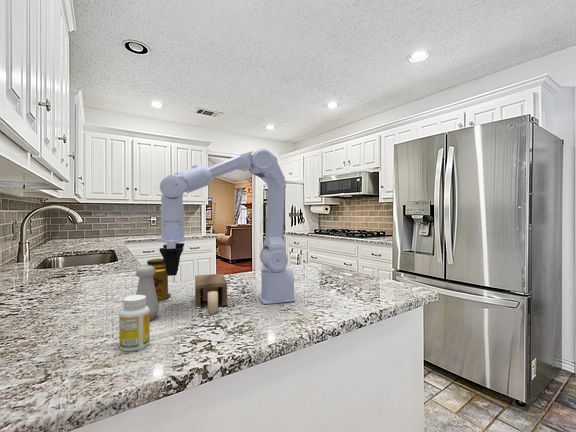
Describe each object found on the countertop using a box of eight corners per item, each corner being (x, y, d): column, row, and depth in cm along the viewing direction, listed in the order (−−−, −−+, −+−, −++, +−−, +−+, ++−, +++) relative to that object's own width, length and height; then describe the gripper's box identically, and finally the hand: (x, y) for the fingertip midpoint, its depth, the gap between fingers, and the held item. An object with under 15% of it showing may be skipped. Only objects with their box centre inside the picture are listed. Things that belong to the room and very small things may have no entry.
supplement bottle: (126, 355, 55) (125, 303, 54) (115, 346, 58) (114, 298, 58) (154, 344, 59) (154, 297, 58) (142, 337, 62) (142, 292, 62)
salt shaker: (148, 324, 69) (147, 269, 69) (127, 322, 70) (126, 268, 70) (163, 315, 75) (163, 264, 75) (143, 313, 76) (143, 263, 76)
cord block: (216, 295, 92) (216, 279, 92) (221, 312, 77) (221, 293, 76) (202, 296, 90) (202, 280, 90) (204, 314, 75) (204, 294, 75)
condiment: (143, 304, 84) (143, 262, 83) (145, 296, 92) (144, 257, 91) (171, 301, 87) (170, 260, 86) (170, 293, 94) (170, 256, 94)
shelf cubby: (222, 293, 94) (222, 273, 94) (227, 305, 83) (227, 282, 83) (195, 296, 92) (195, 275, 91) (195, 308, 80) (195, 285, 80)
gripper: (159, 220, 84) (159, 268, 85) (152, 223, 71) (153, 279, 71) (185, 220, 87) (185, 266, 87) (184, 222, 73) (184, 277, 73)
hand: (173, 272), depth 79 cm, fingers open, 7 cm apart
